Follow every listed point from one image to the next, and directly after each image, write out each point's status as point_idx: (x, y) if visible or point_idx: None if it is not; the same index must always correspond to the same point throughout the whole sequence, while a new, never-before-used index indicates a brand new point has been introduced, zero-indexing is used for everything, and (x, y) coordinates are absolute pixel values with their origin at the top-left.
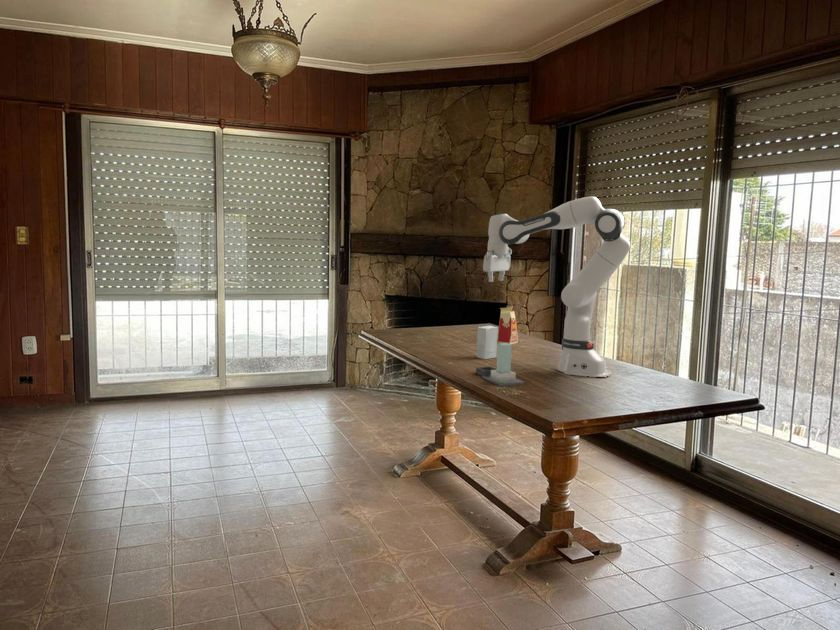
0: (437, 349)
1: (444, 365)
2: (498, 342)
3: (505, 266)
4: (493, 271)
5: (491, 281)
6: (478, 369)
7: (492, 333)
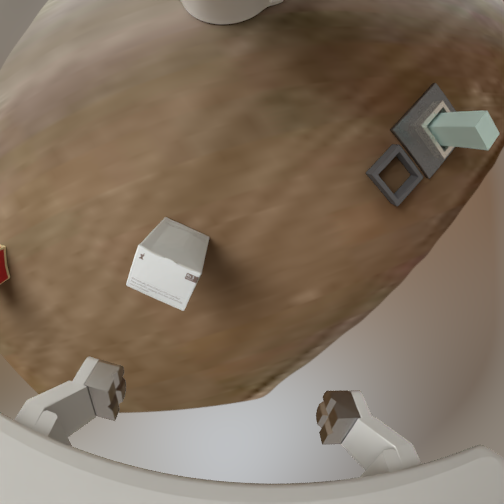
0: (166, 369)
1: (340, 296)
2: (9, 275)
3: (8, 473)
4: (415, 466)
5: (356, 395)
6: (403, 197)
7: (171, 249)
